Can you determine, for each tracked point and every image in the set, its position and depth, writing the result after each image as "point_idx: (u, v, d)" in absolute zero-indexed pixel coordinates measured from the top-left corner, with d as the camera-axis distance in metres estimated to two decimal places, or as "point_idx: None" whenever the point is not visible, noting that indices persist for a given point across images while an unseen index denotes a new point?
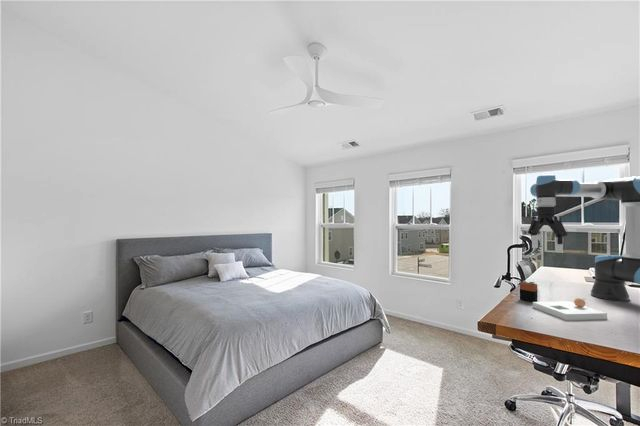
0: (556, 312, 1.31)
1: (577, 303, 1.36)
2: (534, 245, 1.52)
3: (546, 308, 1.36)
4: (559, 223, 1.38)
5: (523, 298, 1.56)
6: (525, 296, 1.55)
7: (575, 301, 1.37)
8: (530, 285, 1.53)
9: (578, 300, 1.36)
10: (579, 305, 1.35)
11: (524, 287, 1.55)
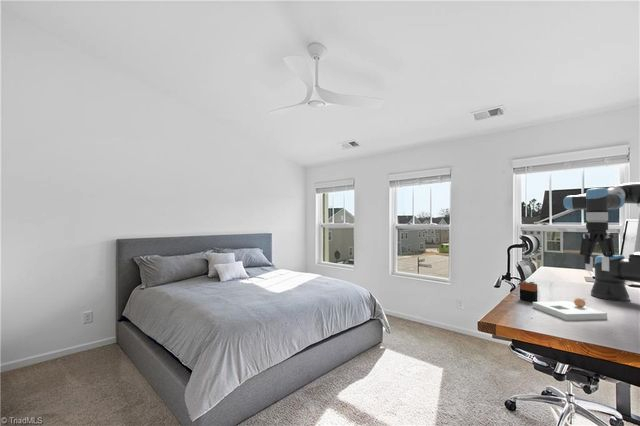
0: (556, 312, 1.31)
1: (577, 303, 1.36)
2: (603, 267, 1.38)
3: (546, 308, 1.36)
4: (582, 242, 1.37)
5: (523, 298, 1.56)
6: (525, 296, 1.55)
7: (575, 301, 1.37)
8: (530, 285, 1.53)
9: (578, 300, 1.36)
10: (579, 305, 1.35)
11: (524, 287, 1.55)
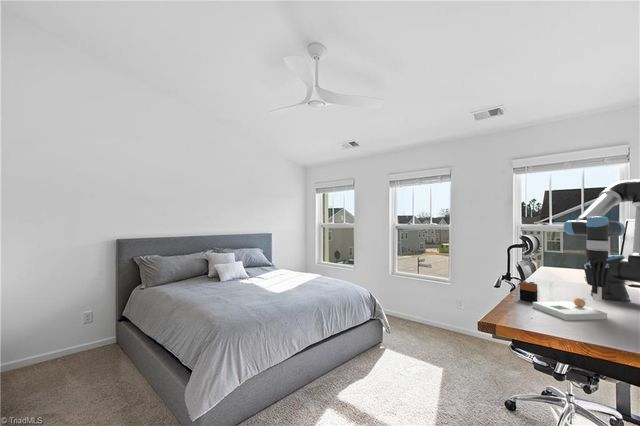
0: (556, 312, 1.31)
1: (577, 303, 1.36)
2: None
3: (546, 308, 1.36)
4: (586, 272, 1.37)
5: (523, 298, 1.56)
6: (525, 296, 1.55)
7: (575, 301, 1.37)
8: (530, 285, 1.53)
9: (578, 300, 1.36)
10: (579, 305, 1.35)
11: (524, 287, 1.55)
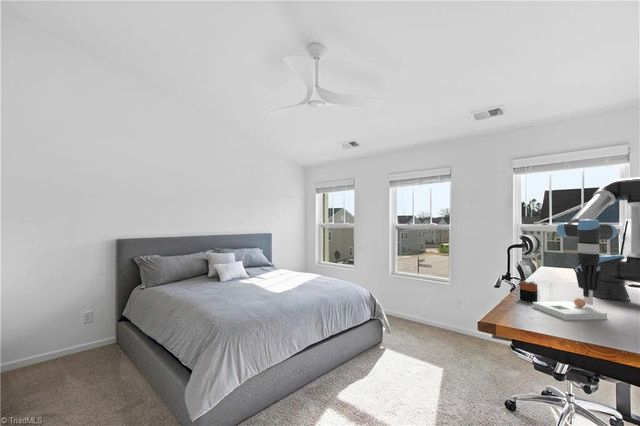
0: (556, 312, 1.31)
1: (577, 303, 1.36)
2: None
3: (546, 308, 1.36)
4: (577, 275, 1.37)
5: (523, 298, 1.56)
6: (525, 296, 1.55)
7: (575, 301, 1.37)
8: (530, 285, 1.53)
9: (578, 300, 1.36)
10: (579, 305, 1.35)
11: (524, 287, 1.55)
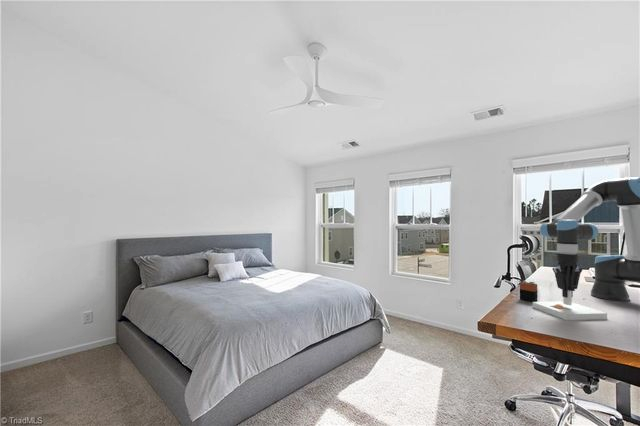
0: (556, 312, 1.31)
1: (556, 307, 1.35)
2: None
3: (546, 308, 1.36)
4: (556, 276, 1.36)
5: (523, 298, 1.56)
6: (525, 296, 1.55)
7: (555, 305, 1.36)
8: (530, 285, 1.53)
9: (559, 305, 1.35)
10: None
11: (524, 287, 1.55)
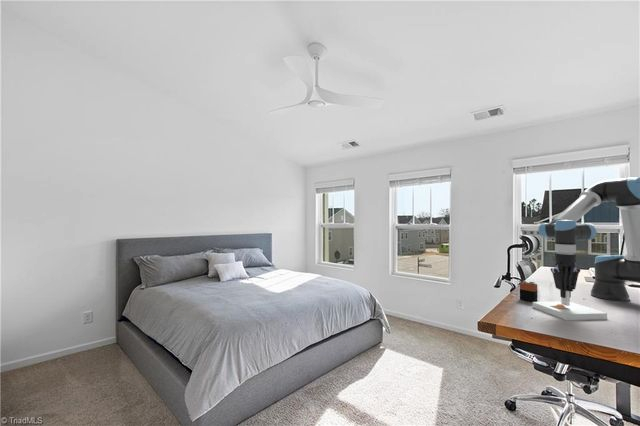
0: (556, 312, 1.31)
1: (559, 306, 1.35)
2: None
3: (546, 308, 1.36)
4: (554, 276, 1.36)
5: (523, 298, 1.56)
6: (525, 296, 1.55)
7: (558, 304, 1.36)
8: (530, 285, 1.53)
9: (562, 305, 1.35)
10: (559, 308, 1.34)
11: (524, 287, 1.55)
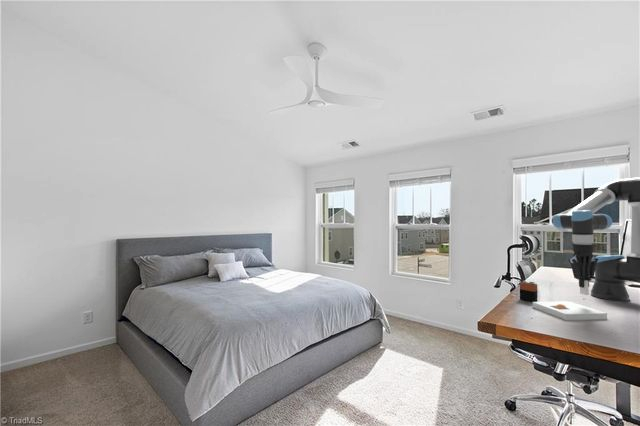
0: (556, 312, 1.31)
1: (560, 305, 1.35)
2: None
3: (546, 308, 1.36)
4: (572, 266, 1.38)
5: (523, 298, 1.56)
6: (525, 296, 1.55)
7: (559, 304, 1.36)
8: (530, 285, 1.53)
9: (563, 305, 1.35)
10: (560, 308, 1.34)
11: (524, 287, 1.55)
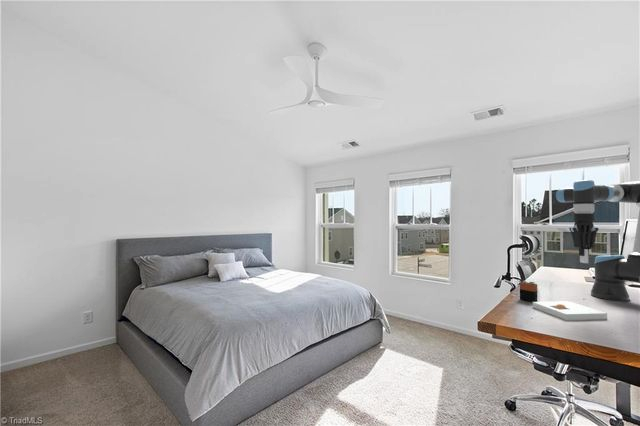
0: (556, 312, 1.31)
1: (560, 305, 1.35)
2: None
3: (546, 308, 1.36)
4: (573, 235, 1.40)
5: (523, 298, 1.56)
6: (525, 296, 1.55)
7: (559, 304, 1.36)
8: (530, 285, 1.53)
9: (563, 305, 1.35)
10: (560, 308, 1.34)
11: (524, 287, 1.55)
